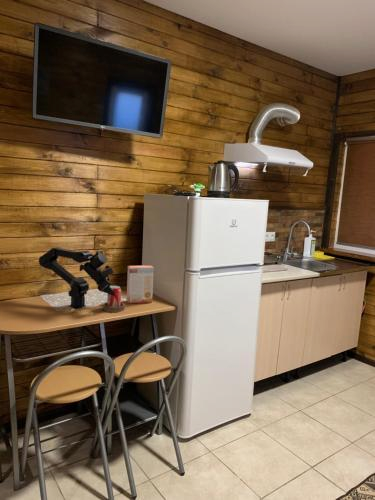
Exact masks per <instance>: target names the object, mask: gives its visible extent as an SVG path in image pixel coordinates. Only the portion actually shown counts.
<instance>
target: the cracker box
mask: <svg viewBox="0 0 375 500" xmlns="http://www.w3.org/2000/svg"><path fill="white" fill-rule="evenodd" d="M154 269H155V268H154V266H153V265H127V279H126V302H127V304H143V303H144V304H146V303H148V304H149V303H153V290H154V272H155V271H154Z"/></svg>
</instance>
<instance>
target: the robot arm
mask: <svg viewBox="0 0 375 500" xmlns="http://www.w3.org/2000/svg"><path fill="white" fill-rule="evenodd" d="M59 257H63V258H67V259H71V260H73V261H74V262H76V263H79V264H80V265H79V272H82V271H84V272H85V273H86V274H87V275H88V276H89V277H90V279H91V280H93V281H94V282H95V283H96V285H97V290H98V291H99V292H102V293H106V294H107V295H108V294H110V295H113V296H114V295H115V293H114V292H113V290H112V289H111V287H110V286H113V284H112V283H111V281H110V275H113V274H115V271H114V269H113V266H112V265H108V264H107V265H105V267H104V268H103V269H101V267H102V266H103V265H104V264H106V263H107V261H108V258H107V256H105V254H103V253H101V251H97V252H95V254H93V253H91V252H90V251H88V250H72V249H71V250H70V249H66V248H61V247H57V246H56V247H52V248H50V249H49V250H48V251H47V252H45V253H44V254H43V255H40V257H39V258H38V264H39V265H40V266H41V267H42V268H44V269H47V270H50V271H52V272H53V273H55V274H56V275H57V276H58V277H59V278H61V279H62V280H63V281H65V283H67V284H68V285H69V287H70V289H69V290H68V293H67V294H68V297H70V304H69V305H68V307H71V308H73V309H80V308H85V307H87V305H86V296H85V295H87V293H88V291H89V289H90V285H89V283H88V281H87V280H86V279H85V278H84V277H82V276H79V277H76V276H75V275H73V274H72V273H71V272H70V271H68V270H67V269H66V268H64V267H63V266H62V265H60V263H59V262H58V259H59ZM82 263H83V264H82Z"/></svg>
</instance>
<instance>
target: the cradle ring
mask: <svg viewBox="0 0 375 500" xmlns="http://www.w3.org/2000/svg"><path fill="white" fill-rule="evenodd" d="M102 308H103V311H105V312H108V313H121V312H124V311H125V310H126V304H125V302H122V301H121V305H120V307H109V306H107V301H105V302H104V303H103V307H102Z"/></svg>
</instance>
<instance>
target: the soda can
mask: <svg viewBox="0 0 375 500" xmlns="http://www.w3.org/2000/svg"><path fill="white" fill-rule="evenodd" d="M110 287H111V289H112V290H113V292H114V293H115V295H114V296H113V295H110V294H108V293H107V300H106V302H107V306H109V307H120V305H121V302H122V289H121V286H119V285H112V286H110Z"/></svg>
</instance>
